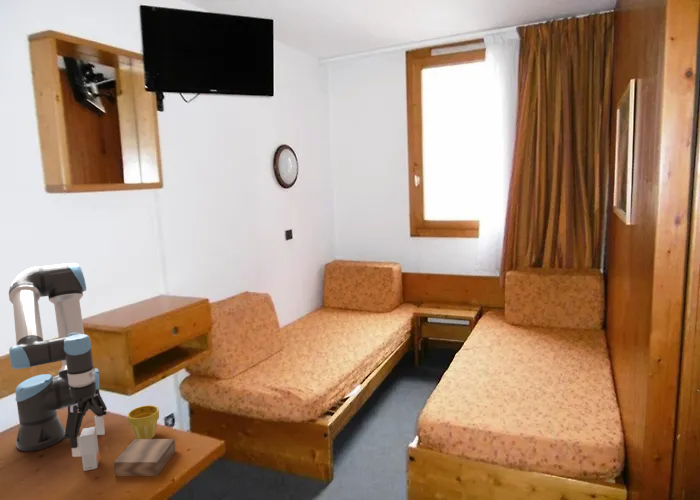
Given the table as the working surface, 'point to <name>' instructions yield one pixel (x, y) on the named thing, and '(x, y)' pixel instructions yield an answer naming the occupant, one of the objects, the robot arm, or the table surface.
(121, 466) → the walnut block
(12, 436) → the table surface
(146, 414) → the plant pot
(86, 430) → the skincare box
